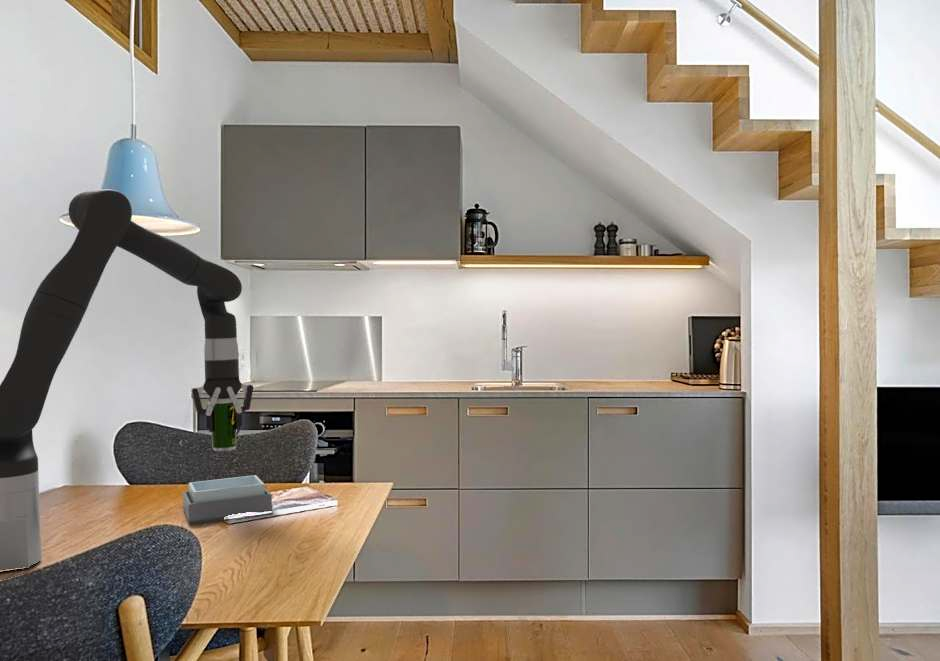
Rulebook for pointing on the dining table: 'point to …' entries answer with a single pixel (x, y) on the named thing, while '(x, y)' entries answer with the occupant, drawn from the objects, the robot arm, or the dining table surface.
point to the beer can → (224, 425)
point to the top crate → (225, 489)
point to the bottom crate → (224, 507)
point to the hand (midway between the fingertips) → (223, 430)
